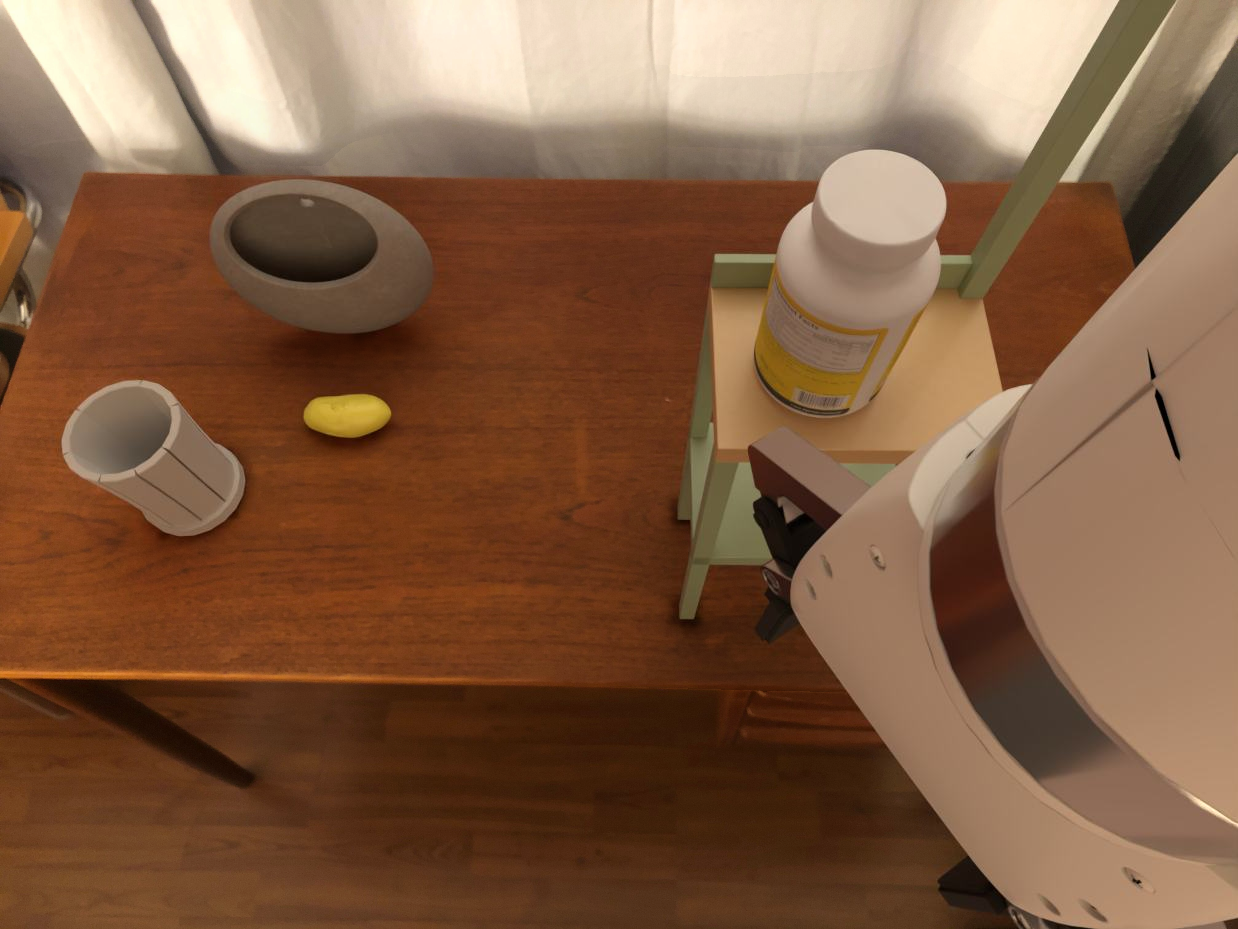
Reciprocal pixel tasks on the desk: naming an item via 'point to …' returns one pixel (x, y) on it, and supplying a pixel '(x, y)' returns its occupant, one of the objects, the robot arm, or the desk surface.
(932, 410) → the mint side table
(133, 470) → the cup
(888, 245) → the pill bottle
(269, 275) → the planter
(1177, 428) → the robot arm
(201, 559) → the desk surface
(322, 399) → the yellow potato
